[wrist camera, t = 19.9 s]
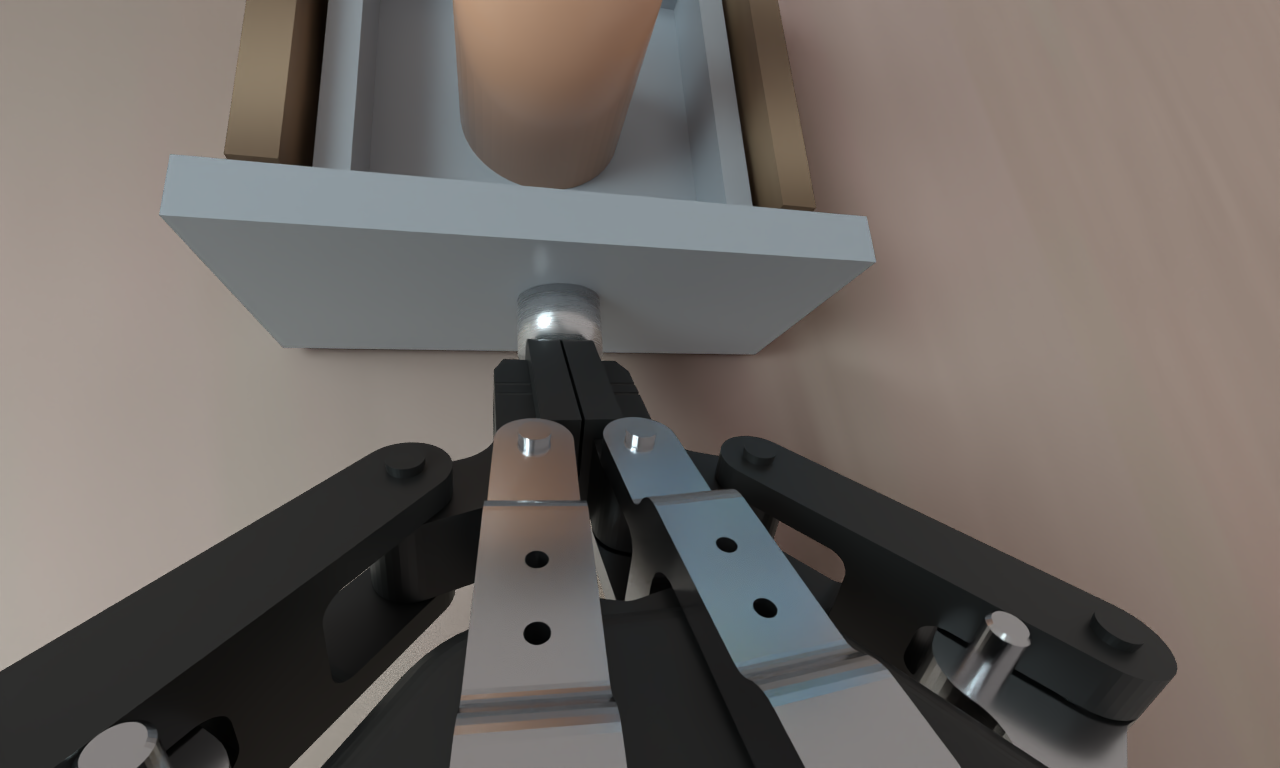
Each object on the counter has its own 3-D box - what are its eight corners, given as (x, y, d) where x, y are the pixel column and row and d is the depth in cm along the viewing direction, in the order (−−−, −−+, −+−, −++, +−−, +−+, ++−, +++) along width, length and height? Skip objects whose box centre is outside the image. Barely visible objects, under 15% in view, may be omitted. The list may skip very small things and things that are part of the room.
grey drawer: (760, 394, 19) (888, 317, 13) (277, 397, 15) (145, 291, 9) (711, 42, 23) (791, -140, 17) (320, -25, 19) (248, -286, 13)
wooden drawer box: (740, 288, 20) (816, 207, 16) (296, 267, 17) (223, 153, 12) (701, 4, 24) (753, -130, 19) (329, -66, 20) (283, -252, 16)
